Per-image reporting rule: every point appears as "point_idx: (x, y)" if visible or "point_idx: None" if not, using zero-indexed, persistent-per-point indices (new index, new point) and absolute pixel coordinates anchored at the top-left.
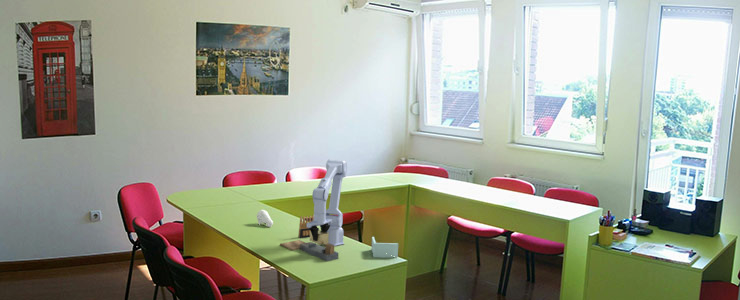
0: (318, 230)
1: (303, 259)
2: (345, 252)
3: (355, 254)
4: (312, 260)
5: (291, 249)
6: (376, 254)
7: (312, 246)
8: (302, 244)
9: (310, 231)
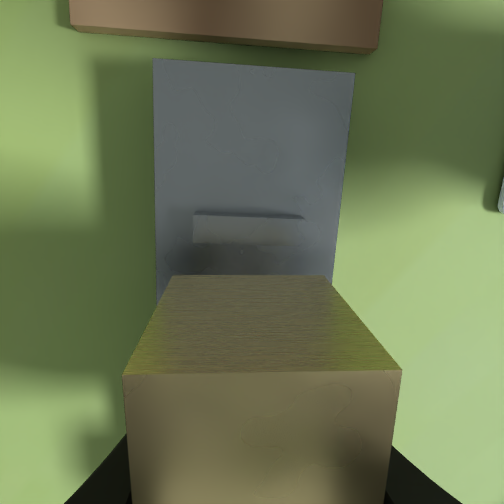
0: (334, 482)
1: (25, 356)
2: (463, 409)
3: (476, 485)
4: (83, 419)
5: (74, 10)
6: None
7: (230, 253)
8: (177, 95)
9: (130, 384)
